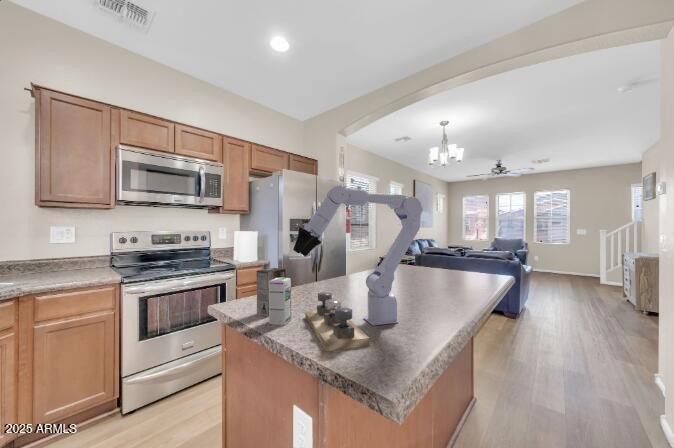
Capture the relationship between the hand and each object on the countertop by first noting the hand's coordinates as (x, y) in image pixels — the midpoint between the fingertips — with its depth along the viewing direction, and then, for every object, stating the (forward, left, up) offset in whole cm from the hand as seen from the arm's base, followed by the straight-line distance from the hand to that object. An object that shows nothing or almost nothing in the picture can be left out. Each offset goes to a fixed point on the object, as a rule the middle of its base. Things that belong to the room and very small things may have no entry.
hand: (299, 253), depth 88 cm
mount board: (-9, +6, -23) cm, 26 cm away
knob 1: (-9, -4, -19) cm, 22 cm away
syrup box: (+6, -6, -24) cm, 25 cm away
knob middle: (-9, +6, -19) cm, 22 cm away
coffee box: (+8, -18, -24) cm, 30 cm away
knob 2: (-9, +16, -19) cm, 27 cm away
